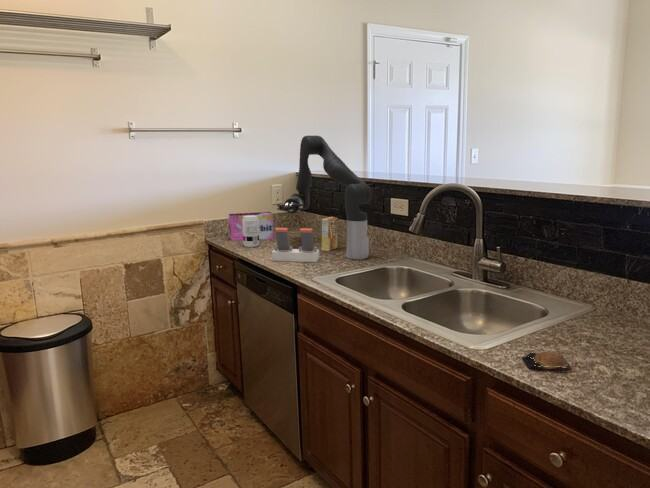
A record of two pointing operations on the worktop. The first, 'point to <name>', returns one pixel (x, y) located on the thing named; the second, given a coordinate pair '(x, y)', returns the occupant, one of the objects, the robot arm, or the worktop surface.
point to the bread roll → (547, 362)
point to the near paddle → (307, 239)
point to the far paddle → (282, 238)
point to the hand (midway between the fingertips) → (285, 209)
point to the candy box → (329, 233)
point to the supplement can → (250, 230)
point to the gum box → (264, 225)
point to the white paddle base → (295, 255)
